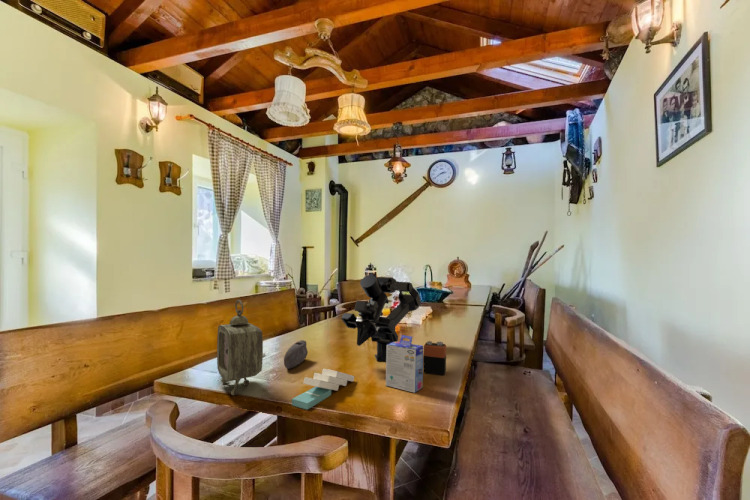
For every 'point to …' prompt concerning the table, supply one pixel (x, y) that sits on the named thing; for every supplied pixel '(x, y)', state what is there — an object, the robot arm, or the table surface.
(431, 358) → the battery
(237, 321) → the tabletop clock
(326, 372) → the domino
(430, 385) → the table surface
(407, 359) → the ink cartridge box
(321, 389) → the domino
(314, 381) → the domino
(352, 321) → the robot arm
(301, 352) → the perforated stone tool
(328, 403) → the table surface
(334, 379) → the domino
